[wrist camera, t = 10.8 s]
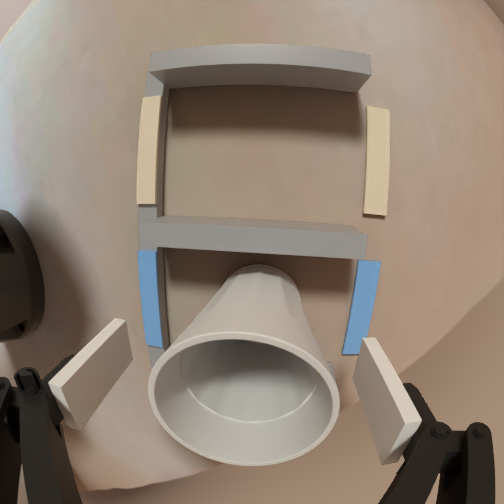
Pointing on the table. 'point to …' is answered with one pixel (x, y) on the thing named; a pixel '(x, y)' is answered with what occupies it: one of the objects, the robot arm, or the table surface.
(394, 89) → the table surface
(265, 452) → the cup
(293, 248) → the parallel grey wall panels
